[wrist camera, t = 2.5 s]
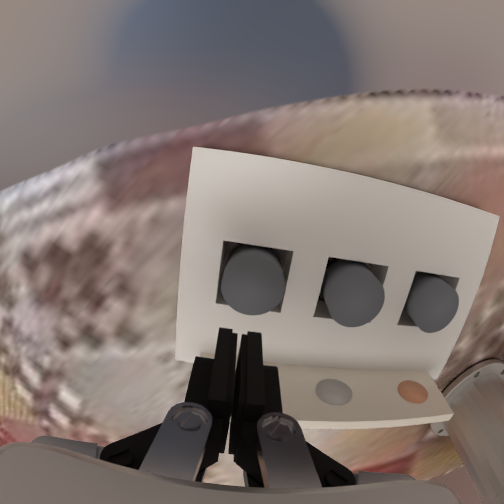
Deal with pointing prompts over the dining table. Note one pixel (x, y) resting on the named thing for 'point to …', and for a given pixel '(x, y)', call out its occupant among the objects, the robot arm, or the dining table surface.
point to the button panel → (311, 277)
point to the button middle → (352, 293)
